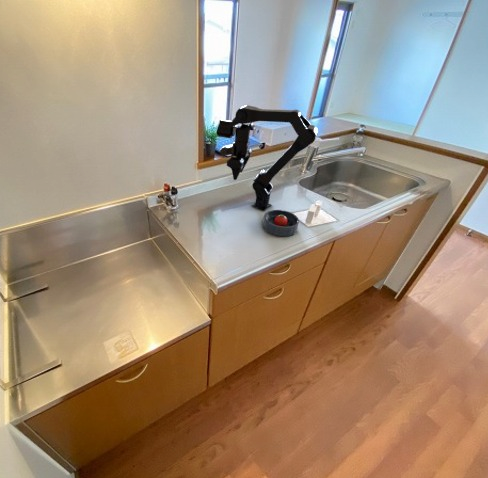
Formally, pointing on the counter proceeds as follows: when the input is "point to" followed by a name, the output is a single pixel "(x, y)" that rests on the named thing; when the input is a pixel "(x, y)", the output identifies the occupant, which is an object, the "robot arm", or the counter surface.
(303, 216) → the napkin holder
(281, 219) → the tomato
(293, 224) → the bowl
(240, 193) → the counter surface
